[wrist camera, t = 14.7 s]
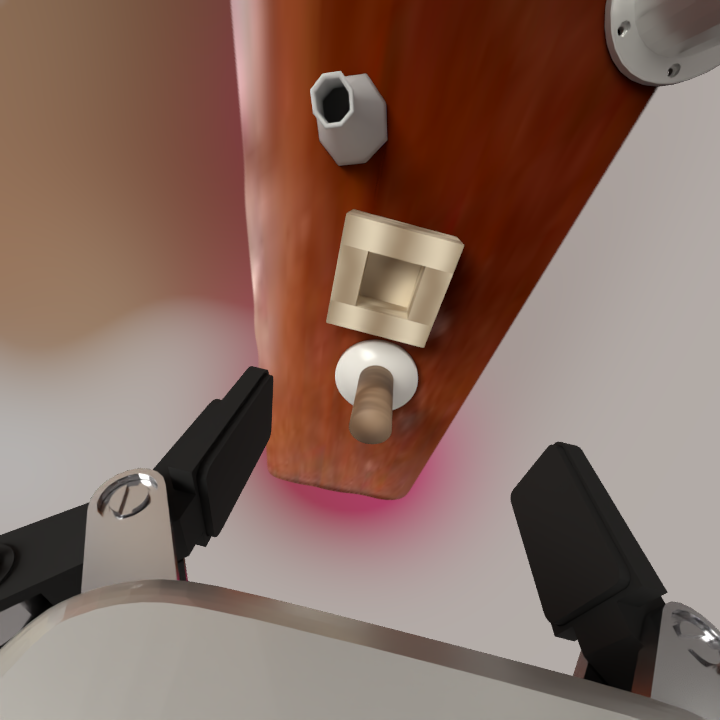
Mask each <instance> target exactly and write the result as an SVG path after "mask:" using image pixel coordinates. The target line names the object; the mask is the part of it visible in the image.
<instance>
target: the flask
mask: <svg viewBox="0 0 720 720" xmlns="http://www.w3.org/2000/svg"><path fill="white" fill-rule="evenodd" d="M310 93H311V101H312V109H313V114H314V115H315V116H316V118H317V125H318V133H319V141H320V142H321V144H322V145H323V146H324V147H325V149H326V150H327V151H328V153H329V154H330V155H331V156H332V158H333V159H334V160H335V162H336V163H337V164H338V166H342V165H351V164H360V163H366V162H367V161H368V160H369V159H370V158H371V157H372V156H373V155H374V154H375V153H376V152H377V150H378V149H379V148H380V147H381V146H382V145H383V144H384V143H385V142H386V141H387V113H386V102H385V100H384V99H383V97H382V96H381V94H380V93H379V91H378V90H377V88H376V87H375V85H374V84H373V82H372V81H371V79H370V78H369V76H368V75H367V73H365V74H359V75H352V76H345V77H344V75H343V74H342V72H341V71H337V72H330V73H324V74H322V75H321V76H320V78H319V79H318V80H317V82H316V83H315V84H314V86H313V87H312V88H311V90H310Z"/></svg>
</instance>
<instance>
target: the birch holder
mask: <svg viewBox="0 0 720 720" xmlns="http://www.w3.org/2000/svg"><path fill="white" fill-rule="evenodd" d="M463 248H464V244H463V243H462V242H461V241H460V240H459V239H458V238H457V237H455V236H451V235H447V234H444V233H440V232H436V231H433V230H429V229H425V228H421V227H418V226H414V225H410V224H407V223H403V222H399V221H395V220H392V219H388V218H384V217H381V216H377V215H373V214H369V213H366V212H362V211H358V210H355V209H353V210H351V211H350V212H348V213H346V219H345V224H344V229H343V235H342V240H341V245H340V251H339V256H338V261H337V267H336V272H335V278H334V283H333V288H332V294H331V299H330V304H329V310H328V315H327V320H326V323H330V324H334V325H338V326H342V327H345V328H349V329H353V330H357V331H361V332H365V333H368V334H372V335H376V336H380V337H384V338H387V339H391V340H395V341H399V342H403V343H406V344H410V345H414V346H418V347H422V348H424V346H425V344H426V341H427V338H428V336H429V333H430V331H431V328H432V326H433V323H434V321H435V318H436V316H437V313H438V311H439V308H440V306H441V303H442V301H443V298H444V296H445V293H446V291H447V288H448V286H449V283H450V280H451V278H452V275H453V273H454V270H455V268H456V265H457V263H458V260H459V258H460V255H461V253H462V250H463Z"/></svg>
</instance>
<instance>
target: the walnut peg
mask: <svg viewBox="0 0 720 720" xmlns="http://www.w3.org/2000/svg"><path fill="white" fill-rule="evenodd" d="M393 381H394V380H393V376H392V374H391V372H390V371H389V370H388V369H386V368H384V367H382V366H377V365H373V366H369V367H367V368H365V369H364V370H363V371H362V372H361V373H360V376H359V380H358V385H357V390H356V395H355V400H354V404H353V409H352V414H351V419H350V423H349V430H350V433H351V434H352V436H353V437H354V438H355V439H357V440H358V441H360V442H363V443H367V444H378V443H381V442H384V441H385V440H387V439H388V438H389V436H390V435H391V432H392V409H393Z"/></svg>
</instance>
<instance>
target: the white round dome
mask: <svg viewBox="0 0 720 720" xmlns="http://www.w3.org/2000/svg"><path fill="white" fill-rule="evenodd" d="M373 365H377V366H382V367H384V368H386V369H388V370H389V371H390V372H391V374H392V376H393V380H394V381H393V409H392V410H394V409H397V408H399V407H401V406H403V405H404V404H406V403H407V402H408V401H409V400H410V399H411V398H412V396H413V395H414V393H415V391H416V388H417V384H418V373H417V367H416V364H415V362H414V360H413V359H412V357H411V356H410V354H409V353H408V352H407V351H405V350H404V349H403V348H402V347H400V346H398V345H396V344H394V343H392V342H389V341H385V340H365V341H362V342H359V343H356V344H354V345H353V346H351V347H350V348H348V349H347V350H346V351H345V352H344V353H343V354H342V356H341V357H340V359H339V362H338V364H337V368H336V372H335V380H336V385H337V388H338V390H339V392H340V393H341V395H342V396H343V397H344V398H345V399H346V400H347V401H348V402H349V403H351V404H352V405H353V404H354V400H355V395H356V390H357V385H358V380H359V376H360V373H361V372H362V371H363V370H364V369H365V368H367V367H369V366H373Z"/></svg>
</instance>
